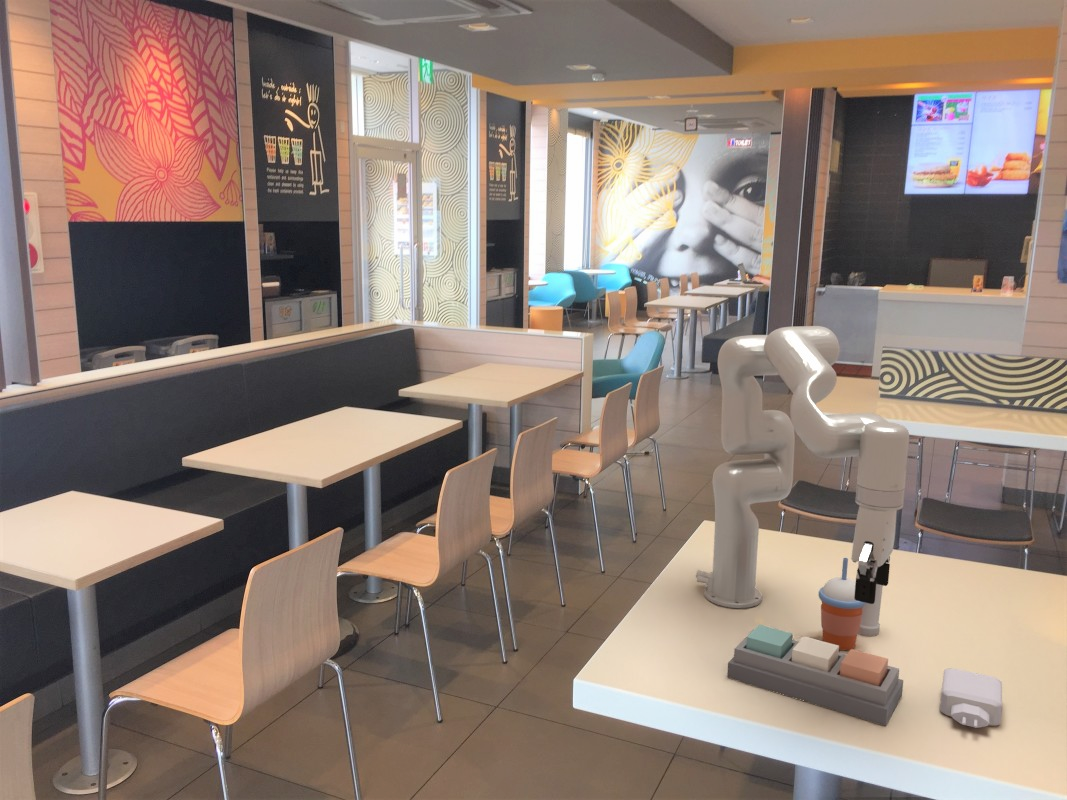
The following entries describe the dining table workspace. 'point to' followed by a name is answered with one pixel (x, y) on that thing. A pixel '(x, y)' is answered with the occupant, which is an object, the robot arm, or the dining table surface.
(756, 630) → the teal key
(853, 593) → the cup with straw
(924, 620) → the dining table surface
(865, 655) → the terracotta key
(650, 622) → the dining table surface
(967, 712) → the charger
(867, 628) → the bottle
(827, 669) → the cream key
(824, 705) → the keypad
